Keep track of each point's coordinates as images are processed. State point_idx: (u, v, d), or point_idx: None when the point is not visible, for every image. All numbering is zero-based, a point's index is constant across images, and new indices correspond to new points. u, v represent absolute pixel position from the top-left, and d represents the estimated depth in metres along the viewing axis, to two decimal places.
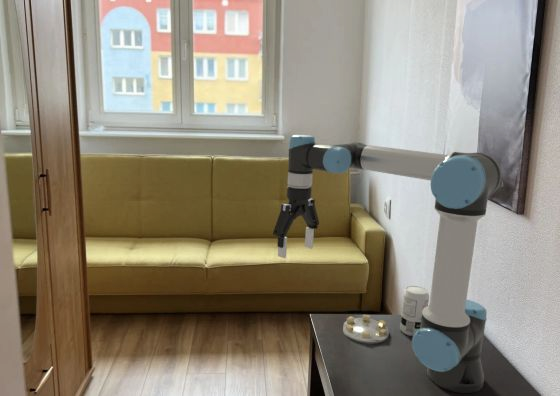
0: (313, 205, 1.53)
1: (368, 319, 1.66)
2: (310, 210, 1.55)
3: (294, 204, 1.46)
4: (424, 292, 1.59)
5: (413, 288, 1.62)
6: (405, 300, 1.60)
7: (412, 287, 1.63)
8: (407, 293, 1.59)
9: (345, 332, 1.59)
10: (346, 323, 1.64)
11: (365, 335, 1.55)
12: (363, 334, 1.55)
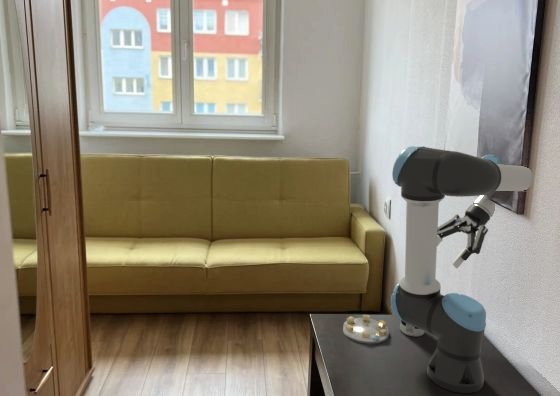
0: (480, 229, 1.56)
1: (368, 319, 1.66)
2: None
3: (463, 217, 1.65)
4: None
5: None
6: None
7: None
8: None
9: (345, 332, 1.59)
10: (346, 323, 1.64)
11: (365, 335, 1.55)
12: (363, 334, 1.55)
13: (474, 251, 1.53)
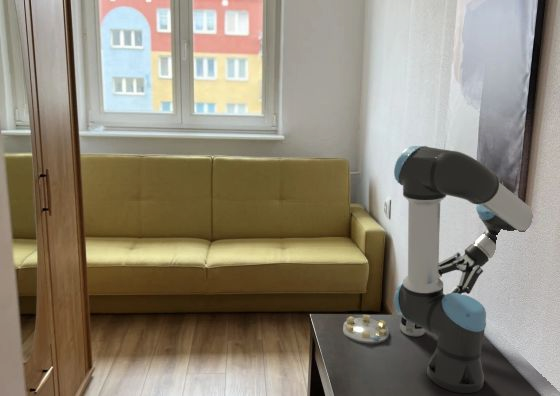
0: (474, 269, 1.56)
1: (368, 319, 1.66)
2: None
3: (462, 256, 1.65)
4: None
5: None
6: None
7: None
8: None
9: (345, 332, 1.59)
10: (346, 323, 1.64)
11: (365, 335, 1.55)
12: (363, 334, 1.55)
13: (464, 290, 1.53)
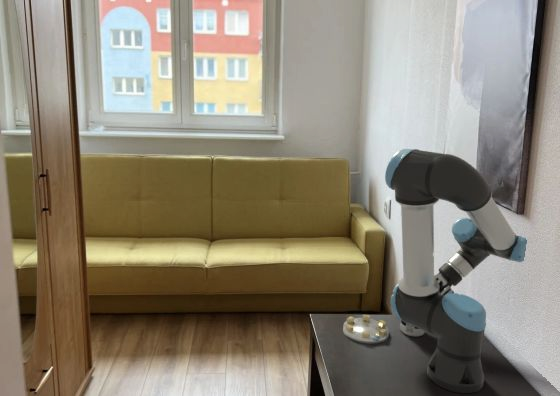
0: (444, 290, 1.56)
1: (368, 319, 1.66)
2: None
3: None
4: None
5: None
6: None
7: None
8: None
9: (345, 332, 1.59)
10: (346, 323, 1.64)
11: (365, 335, 1.55)
12: (363, 334, 1.55)
13: None
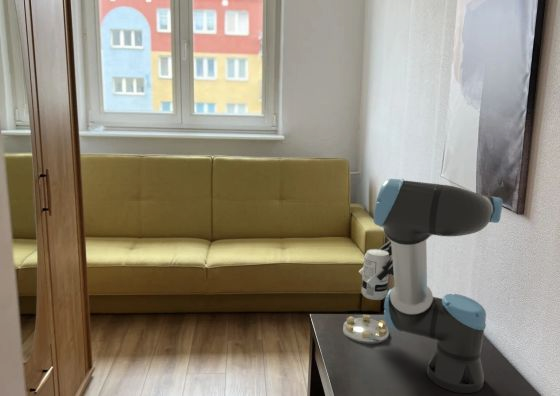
0: None
1: (368, 319, 1.66)
2: None
3: None
4: (385, 254, 1.56)
5: (374, 251, 1.58)
6: (365, 262, 1.56)
7: (373, 250, 1.59)
8: (367, 255, 1.56)
9: (345, 332, 1.59)
10: (346, 323, 1.64)
11: (365, 335, 1.55)
12: (363, 334, 1.55)
13: (388, 271, 1.51)
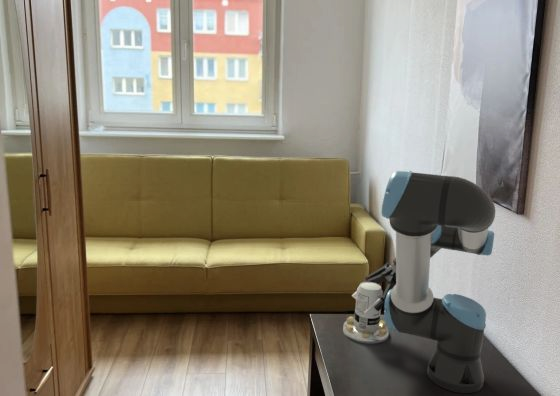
0: None
1: None
2: None
3: (391, 266, 1.62)
4: (377, 288, 1.57)
5: (367, 284, 1.60)
6: (358, 296, 1.58)
7: (366, 283, 1.60)
8: (360, 289, 1.57)
9: (345, 332, 1.59)
10: (346, 323, 1.64)
11: (365, 335, 1.55)
12: (363, 334, 1.55)
13: None
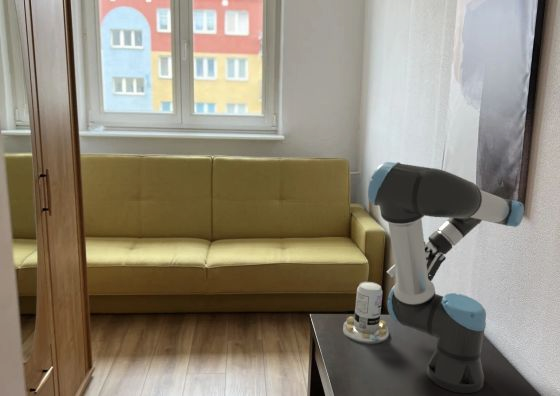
0: (436, 257, 1.53)
1: None
2: None
3: None
4: (377, 288, 1.57)
5: (367, 284, 1.60)
6: (358, 296, 1.58)
7: (366, 283, 1.60)
8: (360, 289, 1.57)
9: (345, 332, 1.59)
10: (346, 323, 1.64)
11: (365, 335, 1.55)
12: (363, 334, 1.55)
13: None
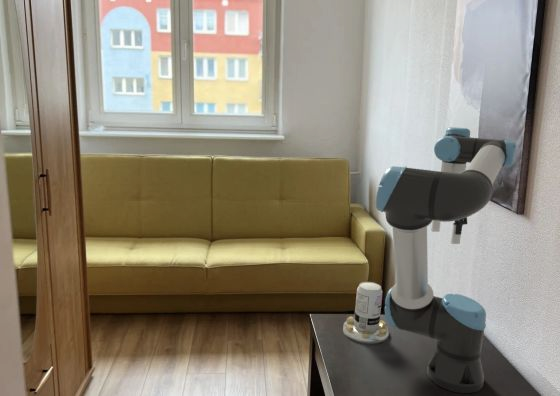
0: None
1: None
2: None
3: None
4: (377, 288, 1.57)
5: (367, 284, 1.60)
6: (358, 296, 1.58)
7: (366, 283, 1.60)
8: (360, 289, 1.57)
9: (345, 332, 1.59)
10: (346, 323, 1.64)
11: (365, 335, 1.55)
12: (363, 334, 1.55)
13: (461, 224, 1.53)
